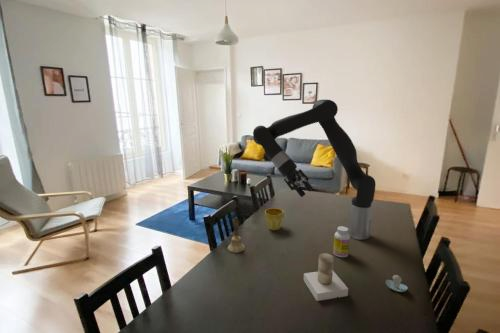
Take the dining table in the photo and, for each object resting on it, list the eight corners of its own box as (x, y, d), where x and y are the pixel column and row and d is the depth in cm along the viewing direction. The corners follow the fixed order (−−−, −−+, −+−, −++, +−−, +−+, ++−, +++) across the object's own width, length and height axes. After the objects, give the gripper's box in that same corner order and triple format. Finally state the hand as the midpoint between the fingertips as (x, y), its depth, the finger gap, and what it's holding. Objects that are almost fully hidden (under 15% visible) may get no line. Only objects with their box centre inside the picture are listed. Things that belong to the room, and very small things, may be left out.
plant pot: (262, 230, 153) (262, 213, 150) (268, 222, 162) (268, 206, 160) (280, 233, 149) (280, 216, 146) (285, 225, 158) (285, 209, 156)
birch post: (327, 275, 108) (329, 252, 105) (334, 284, 103) (336, 260, 101) (315, 277, 107) (316, 254, 104) (321, 286, 102) (322, 262, 99)
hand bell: (234, 242, 140) (234, 212, 136) (248, 247, 135) (247, 216, 132) (224, 249, 133) (223, 218, 130) (237, 254, 129) (237, 222, 125)
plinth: (331, 276, 113) (332, 269, 112) (347, 295, 101) (348, 288, 100) (303, 280, 110) (303, 273, 109) (316, 301, 99) (317, 293, 98)
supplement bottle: (340, 259, 124) (342, 233, 121) (330, 252, 130) (331, 227, 127) (351, 255, 127) (353, 229, 124) (340, 249, 133) (342, 224, 130)
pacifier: (387, 281, 110) (383, 288, 105) (389, 266, 108) (385, 273, 104) (408, 288, 105) (405, 296, 101) (410, 273, 104) (407, 281, 99)
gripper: (282, 161, 114) (307, 192, 111) (296, 155, 126) (319, 183, 122) (270, 172, 118) (294, 202, 115) (285, 165, 130) (307, 193, 126)
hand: (307, 192), depth 119 cm, fingers open, 8 cm apart
